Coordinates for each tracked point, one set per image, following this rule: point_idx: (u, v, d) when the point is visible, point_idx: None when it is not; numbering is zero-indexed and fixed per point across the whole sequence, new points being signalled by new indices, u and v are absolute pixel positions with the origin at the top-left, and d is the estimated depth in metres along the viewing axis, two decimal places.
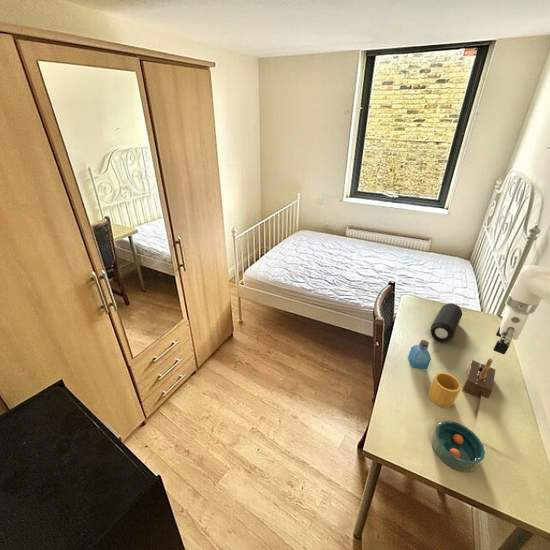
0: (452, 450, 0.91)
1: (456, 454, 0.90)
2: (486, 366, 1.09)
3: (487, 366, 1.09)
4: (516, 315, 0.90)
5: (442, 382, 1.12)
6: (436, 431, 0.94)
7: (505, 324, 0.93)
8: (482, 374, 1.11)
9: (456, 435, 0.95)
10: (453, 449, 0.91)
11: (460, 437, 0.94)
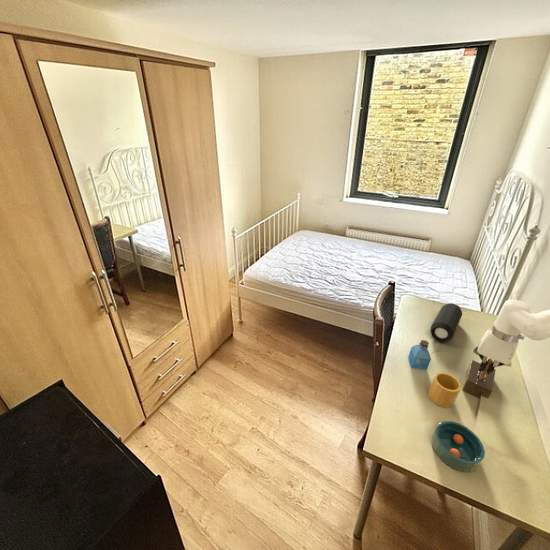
0: (452, 450, 0.91)
1: (456, 454, 0.90)
2: (486, 366, 1.09)
3: (487, 366, 1.09)
4: (517, 344, 1.00)
5: (442, 382, 1.12)
6: (436, 431, 0.94)
7: (513, 355, 1.01)
8: (482, 374, 1.11)
9: (456, 435, 0.95)
10: (453, 449, 0.91)
11: (460, 437, 0.94)
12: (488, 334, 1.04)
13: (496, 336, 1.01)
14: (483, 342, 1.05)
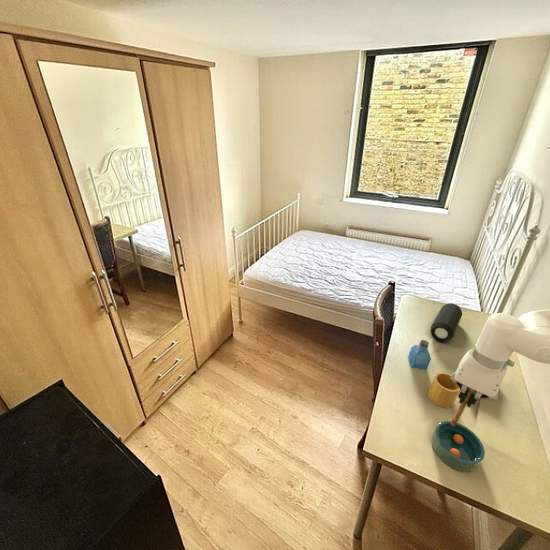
0: (452, 450, 0.91)
1: (456, 454, 0.90)
2: (466, 397, 0.85)
3: (467, 398, 0.85)
4: (505, 371, 0.76)
5: (442, 382, 1.12)
6: (436, 431, 0.94)
7: (499, 386, 0.77)
8: (461, 407, 0.87)
9: (456, 435, 0.95)
10: (453, 449, 0.91)
11: (460, 437, 0.94)
12: (468, 357, 0.79)
13: (477, 361, 0.76)
14: (461, 367, 0.81)
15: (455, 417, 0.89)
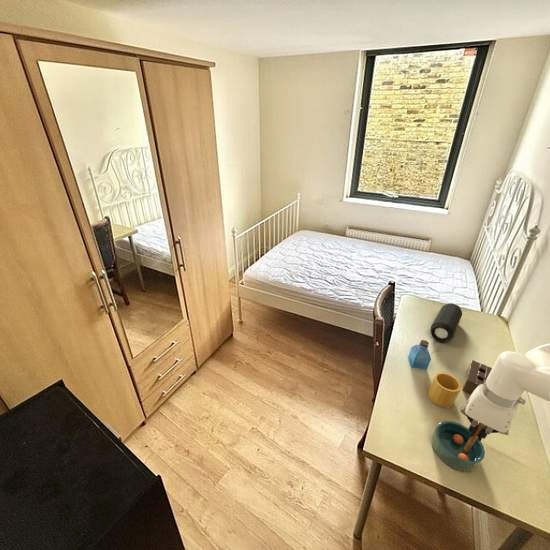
0: (461, 455, 0.89)
1: None
2: (476, 431, 0.85)
3: (478, 431, 0.85)
4: (516, 409, 0.76)
5: (442, 382, 1.12)
6: (436, 431, 0.94)
7: None
8: (472, 439, 0.87)
9: (456, 435, 0.95)
10: (463, 456, 0.89)
11: (460, 437, 0.94)
12: (478, 393, 0.79)
13: (488, 398, 0.77)
14: (472, 403, 0.81)
15: (466, 448, 0.90)
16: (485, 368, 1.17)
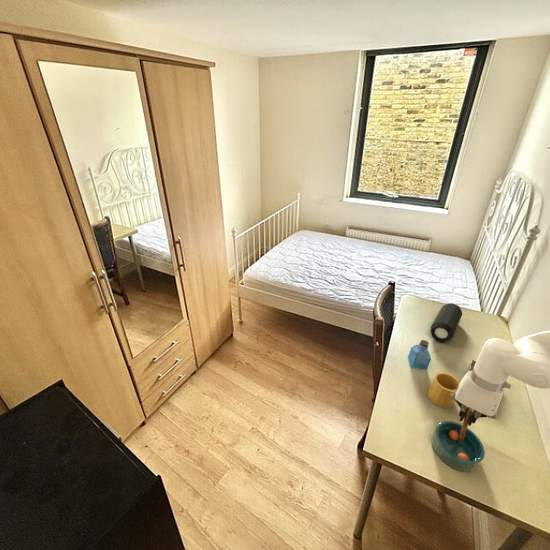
0: (460, 455, 0.90)
1: None
2: (466, 417, 0.89)
3: (467, 417, 0.89)
4: None
5: (442, 382, 1.12)
6: (436, 431, 0.94)
7: (497, 407, 0.81)
8: (464, 425, 0.91)
9: (449, 431, 0.97)
10: (462, 455, 0.89)
11: (452, 430, 0.97)
12: (467, 379, 0.84)
13: (476, 383, 0.81)
14: (461, 388, 0.85)
15: (461, 435, 0.93)
16: None
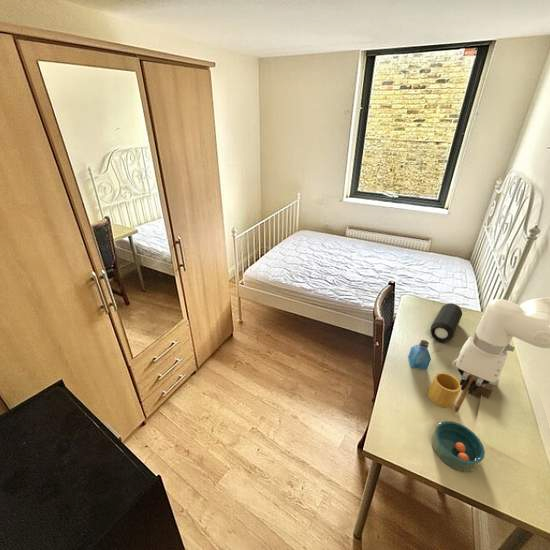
0: (461, 454, 0.90)
1: None
2: (468, 385, 0.86)
3: (469, 385, 0.86)
4: None
5: (442, 382, 1.12)
6: (436, 431, 0.94)
7: (500, 371, 0.78)
8: (463, 394, 0.88)
9: (465, 450, 0.92)
10: (463, 455, 0.89)
11: None
12: (469, 344, 0.81)
13: (478, 347, 0.78)
14: (463, 354, 0.82)
15: (458, 404, 0.91)
16: None
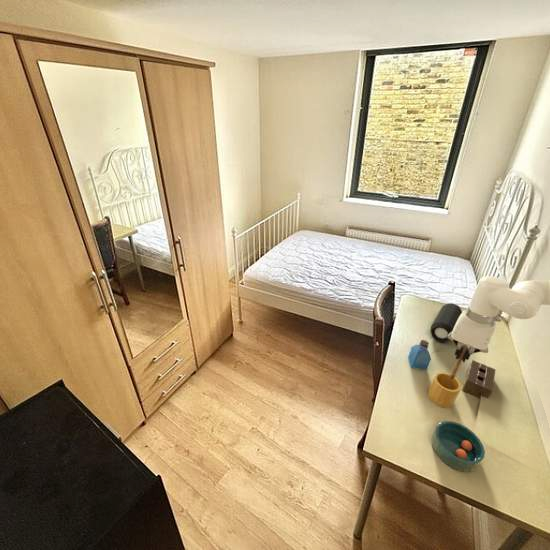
0: (457, 449, 0.92)
1: (457, 453, 0.91)
2: (461, 354, 0.98)
3: (462, 354, 0.97)
4: (494, 327, 0.88)
5: (442, 382, 1.12)
6: (436, 431, 0.94)
7: (489, 340, 0.89)
8: (458, 363, 1.00)
9: None
10: (459, 449, 0.92)
11: (467, 449, 0.92)
12: (462, 316, 0.92)
13: (470, 318, 0.89)
14: (457, 326, 0.94)
15: (453, 372, 1.02)
16: (485, 368, 1.17)
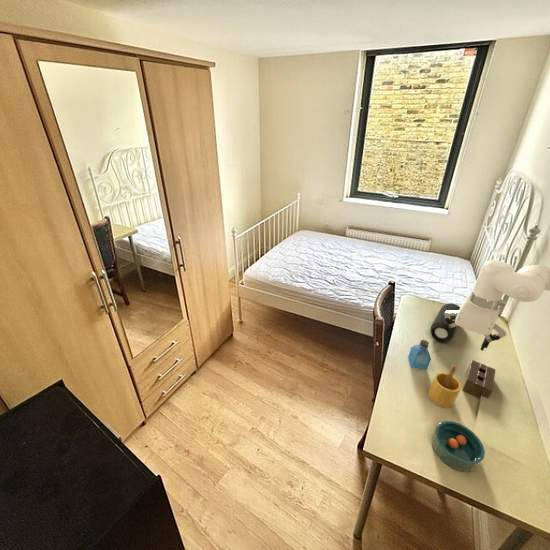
0: None
1: None
2: (451, 372, 1.05)
3: (452, 372, 1.05)
4: (498, 311, 0.88)
5: (442, 382, 1.12)
6: (436, 431, 0.94)
7: (493, 325, 0.89)
8: (447, 381, 1.07)
9: (465, 441, 0.94)
10: None
11: (461, 440, 0.94)
12: (466, 302, 0.92)
13: (474, 303, 0.89)
14: (461, 311, 0.93)
15: None
16: (485, 368, 1.17)
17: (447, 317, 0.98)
